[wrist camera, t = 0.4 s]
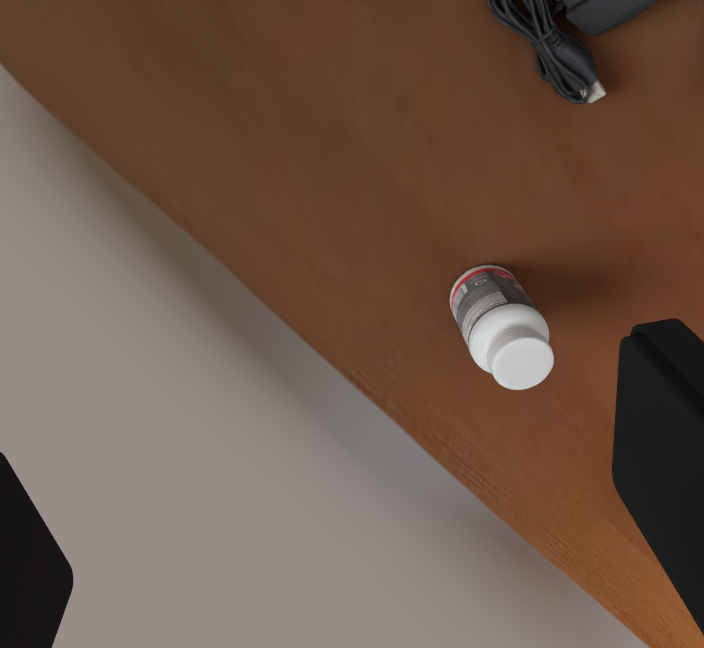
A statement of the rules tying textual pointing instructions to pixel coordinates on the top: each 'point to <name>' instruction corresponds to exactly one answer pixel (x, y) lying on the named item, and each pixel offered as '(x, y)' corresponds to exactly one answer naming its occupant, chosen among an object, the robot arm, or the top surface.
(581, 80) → the computer mouse
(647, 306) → the top surface
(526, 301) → the pill bottle
